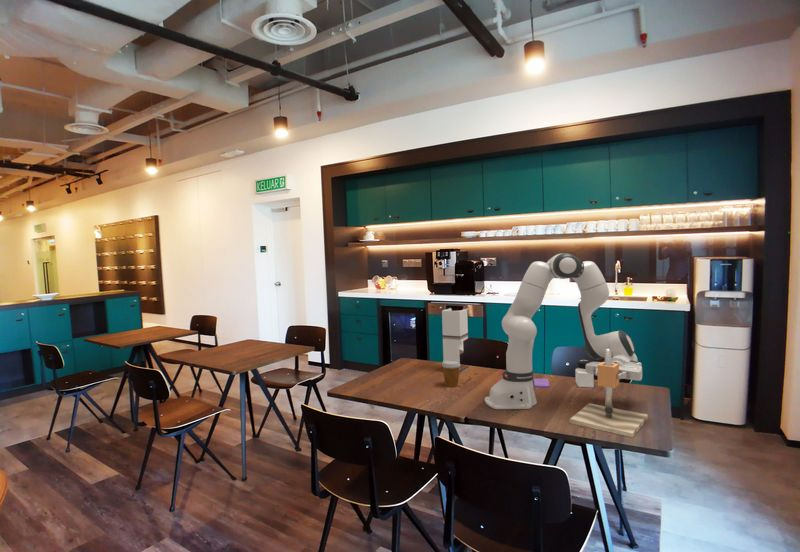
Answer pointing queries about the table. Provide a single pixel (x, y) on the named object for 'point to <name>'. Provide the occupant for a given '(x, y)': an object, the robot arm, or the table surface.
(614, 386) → the sleeve
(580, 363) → the medicine bottle
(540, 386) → the sponges
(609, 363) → the steel pipe
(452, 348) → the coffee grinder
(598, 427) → the pipe stand
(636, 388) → the table surface
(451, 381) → the disposable coffee cup
